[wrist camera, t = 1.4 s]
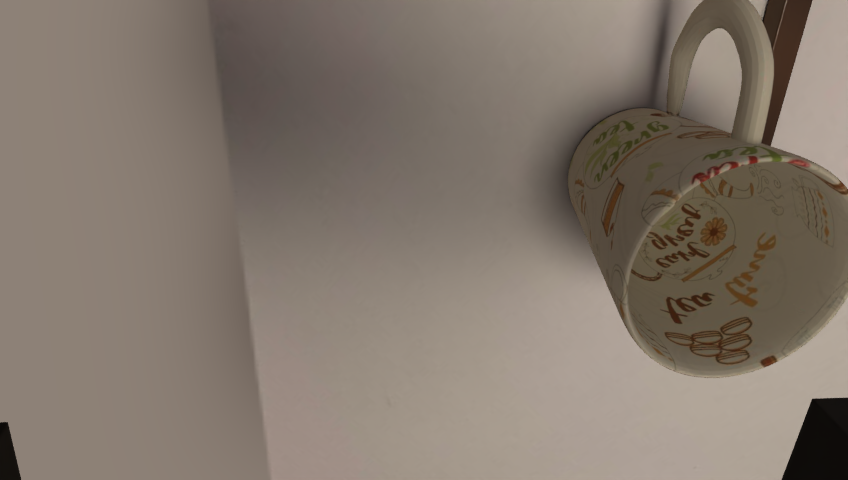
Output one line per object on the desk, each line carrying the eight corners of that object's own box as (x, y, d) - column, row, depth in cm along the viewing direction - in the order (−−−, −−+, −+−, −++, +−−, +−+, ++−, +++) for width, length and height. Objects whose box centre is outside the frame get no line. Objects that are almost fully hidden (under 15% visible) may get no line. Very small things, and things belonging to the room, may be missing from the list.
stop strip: (784, -62, 29) (801, -61, 28) (811, -60, 29) (830, -58, 28) (693, 284, 36) (704, 296, 35) (716, 284, 36) (727, 296, 35)
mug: (534, 256, 34) (607, 386, 25) (560, -25, 29) (666, 13, 20) (700, 249, 35) (828, 372, 26) (756, -24, 30) (942, 13, 21)
